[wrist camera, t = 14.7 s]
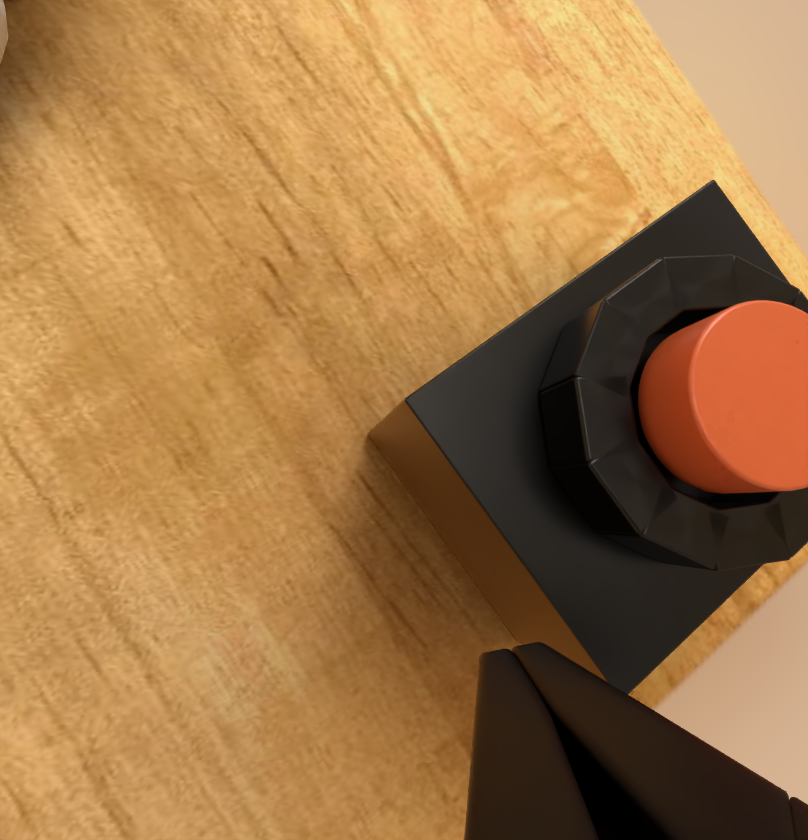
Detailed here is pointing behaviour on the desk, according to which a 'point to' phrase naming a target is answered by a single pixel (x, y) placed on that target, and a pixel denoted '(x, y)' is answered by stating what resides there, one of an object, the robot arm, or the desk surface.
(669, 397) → the button
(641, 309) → the button box
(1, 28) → the figurine
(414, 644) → the desk surface
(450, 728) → the desk surface
